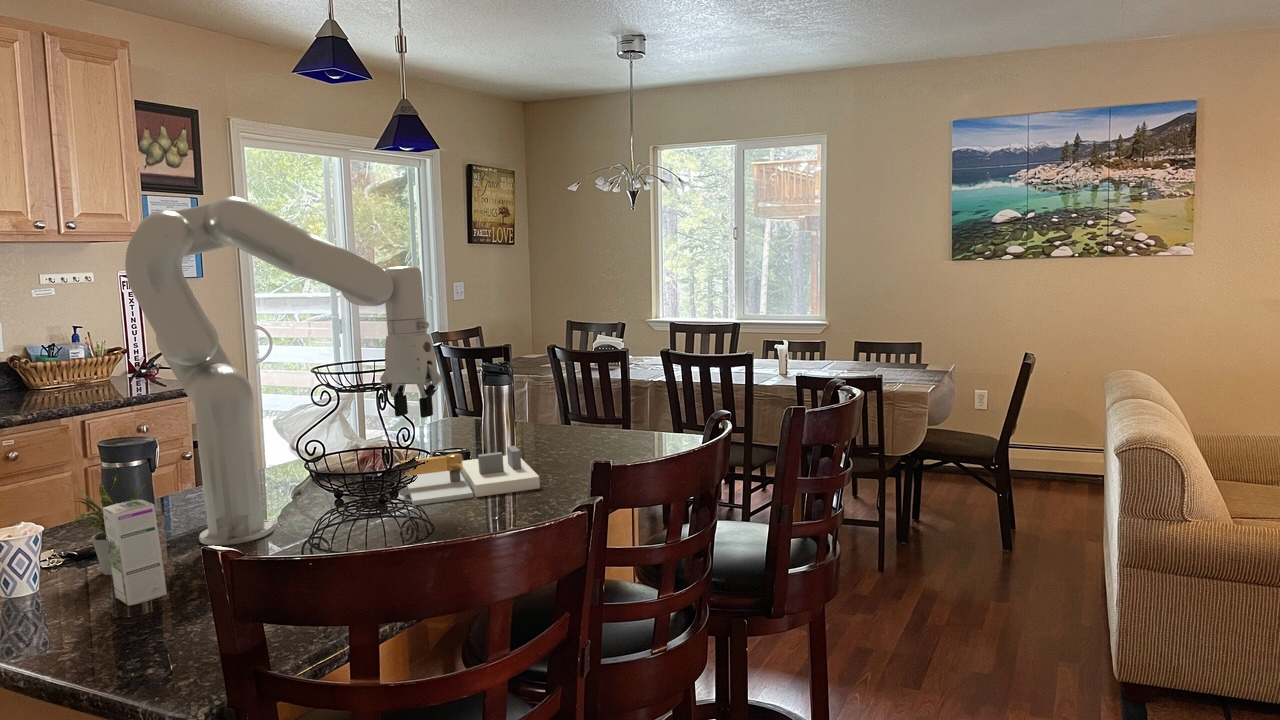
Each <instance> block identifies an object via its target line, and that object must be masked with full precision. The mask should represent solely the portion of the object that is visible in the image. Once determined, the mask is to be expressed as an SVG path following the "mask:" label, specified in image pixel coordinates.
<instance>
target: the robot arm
mask: <svg viewBox="0 0 1280 720" xmlns="http://www.w3.org/2000/svg"><path fill="white" fill-rule="evenodd" d="M230 246H233V247H235V248H237V249H239V250H241V251H243V252H245V253H247V254H249V255H251V256H253V257H255V258H258V259H260V260H261V261H263V262H265V263H267V264H270V265H272V266H273V267H275V268H277V269H279V270H282V271H283V272H285V273H288V274H291V275H294V276H295V277H296V276H297V277H300V278H304V279H305V278H306V279H310V280H313V281H316V282H319V283H322V284H324V285H326V286H329V287H330V288H333V289H335V290H337V291H339V292H340V293H341V294H342V296H343V297H344V299H346V301H348V302H349V303H351V304H353V305H356V306H362V307H379V306H381V305H384V306H385V314H386V326H387V327H386V328H387V335H386V338H385V347H384V365H385V366H384V367H385V368H384V369H385V371H384V372H383V373H382V375H381V376H380V378H379V380H380V381H381V383H382V384H383V385H384V386H385V388H386V389H387V391H388V392H389V393H390V394H389V395H390V397H391V398H393V406H394V407H395V408H394V416H395V417H396V418H397V417H398V418H399V417H401V416H406V415H408V413H409V410H408V400H407V399H408V398H407V395H406V394H405V390H406V387H407V386H406V385H416V386H417V389H418V391H419V392H418V393H419V394H420V398H419V399H418V403H419V412H420V414H419V415H420V417H421V418H422V419H425V418H428V417H433V415H434V407H433V406H434V405H433V397H434V396H435V392H436V391H437V390H438V388H439V387H440V385H441V384H442V383H443V382H444V378H443V377H442V376H441V374H440V373H439V372H438V365H437V357H436V352H435V348H434V347H435V346H434V344H433V340H432V337H431V334H430V333H427V329H429V327H430V323H429V322H428V321H426V313H425V310H426V309H425V300H424V299H425V298H424V288H423V278H422V272H421V269H420V267H417V266H415V265H405V266H404V265H403V266H402V265H401V266H391V267H387V268H382V267H380V266H378V265H377V264H375V263H373V262H372V261H369V260H367V259H365V258H364V257H361V256H360V255H357V254H356V253H354V252H352V251H350V250H347V249H345V248H343V247H341V246H338V245H336V244H334V243H332V242H329V241H328V240H326V239H324V238H322V237H319V236H318V235H315V234H313V233H311V232H308V231H307V230H305V229H303V228H301V227H299V226H297V225H295V224H294V223H291V222H289V221H287V220H286V219H283V218H281V217H279V216H277V215H276V214H275V213H274V214H273V212H270V211H268V210H267V209H264V208H263V207H261V206H258V205H257V204H255V203H253V202H251V201H249V200H247V199H244V198H242V197H238V196H226V197H224V198H221V199H218V200H216V201H214V202H210V203H206V204H203V205H199V206H194V207H189V208H185V209H178V210H166V209H165V210H157V211H154V212H151V213H150V214H149V215H147V216H146V217H144V218H143V220H142V221H140V222H139V224H138V226H137V229H136V230H135V231H134V233H133V235H132V237H131V239H130V241H129V243H128V245H127V248H126V253H125V261H124V262H125V263H124V266H125V276H126V280H127V283H128V285H129V288H130V290H131V292H132V294H133V296H134V298H135V300H136V302H137V304H138V306H139V307H140V309H141V311H142V312H143V314H144V316H145V318H146V320H147V321H148V323H149V324H150V327H151V328H152V330H153V331H154V333H155V341H156V346H157V347H158V350H159V352H160V353H161V355H162V357H163V358H164V360H165V362H166V364H167V365H168V367H169V368H170V369H171V372H172V373H173V375H174V377H175V379H177V381H178V383H179V384H180V386H181V388H182V389H183V391H184V392H185V394H186V395H187V397H188V399H189V400H190V402H191V403H192V404H193V405H194V411H195V413H194V414H195V425H196V437H197V446H198V447H197V448H198V456H199V461H200V462H199V464H200V469H201V470H200V471H201V479H202V486H203V487H202V488H203V490H202V491H203V499H204V506H205V514H206V524H207V528H206V529H205V530H203V531H201V532H200V533H199V536H198V539H199V543H201V544H202V545H207V546H212V545H219V546H230V545H231V546H233V545H237V544H244V543H248V542H251V541H256V540H258V539H261V538H264V537H266V536H268V535H270V534H272V533H273V531H274V530H275V524H274V522H273V521H271V520H269V519H265V517H264V516H265V515H264V507H263V496H262V489H261V488H262V486H261V478H260V470H259V459H258V450H257V442H256V431H255V414H254V413H255V408H254V407H255V406H254V394H253V393H254V392H253V388H252V386H251V383H250V381H249V379H248V378H247V376H246V375H245V374H244V373H243V372H242V371H240V370H239V369H237V368H235V367H234V365H233V364H232V362H231V361H230V359H229V358H228V356H227V354H226V352H225V351H224V349H223V347H222V345H221V344H220V342H219V341H220V340H219V334H218V331H217V329H216V327H215V325H214V324H213V322H211V320H210V319H209V318H208V316H207V314H206V313H205V311H204V310H203V308H202V306H201V305H200V303H199V301H198V299H197V298H196V296H195V294H194V293H193V290H192V288H191V286H190V285H189V283H188V282H187V279H186V277H185V274H184V271H183V258H185V257H188V256H194V255H199V254H202V253H207V252H211V251H215V250H219V249H223V248H226V247H230ZM396 409H397V410H396ZM398 411H399V412H400V413H401V414H402V415H401V414H400V413H399V412H398Z"/></svg>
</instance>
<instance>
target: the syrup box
mask: <svg viewBox="0 0 1280 720" xmlns="http://www.w3.org/2000/svg"><path fill="white" fill-rule="evenodd" d="M149 502H150V501H147V500H144V499H141V498H138V499H137V498H136V499H135V500H131V501H129V500H125V502H121V503H117V502H116V503H115V504H114V505H111V506H107V507H104V506H103V507H102V509H103V515H104V516H103V519H104V523H105V530H106V537H107V543H108V550H109V558H110V564H111V572H112V575H111V577H112V584H113V591H114V597H115V599H116V600H119V601H120V602H121V603H123V604H124V605H126V606H135V605H137V604H141V603H146V602H148V601H151V600H155V599H158V598H160V597H161V598H162V597H164V596H167V594H168V593H167V585H166V577H165V570H164V569H165V568H164V562H163V556H162V548H161V541H160V534H159V529H158V522H157V514H156V513H157V512H156V508H155V507H156V506H155V504H154V503H152V502H150V503H149ZM104 523H103V524H104Z"/></svg>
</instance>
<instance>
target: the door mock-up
mask: <svg viewBox="0 0 1280 720" xmlns="http://www.w3.org/2000/svg"><path fill="white" fill-rule="evenodd" d="M506 453H507V454H506V455H503V453H502V451H498V452H491V453H482V454H477V458H474V459H466V460H462V462H463V469H461V470H458V471H443V472H435V473H427V474H419V475H417V476H418V478H417V479H416V480H415V481H414V482H412V483H410V484H408V485H406V487H407V488H406V489H407V492H408V494H409V497H410V500H411V503H412V506H420V505H422V506H423V505H428V504H435V503H442V502H449V501H457V500H464V499H472V498H473V499H474V496H475V497H476V498H478V497H485V496H493V495H494V496H495V495H500V494H506V493H507V494H509V493H514V492H515V493H516V492H523V491H529V490H530V491H531V490H537V489H538V490H539V489H541V482H540V481H541V480H540V476H539V474H537V472H536V471H534V469H532V468H531V466H530V465H529V464H528V463H527V462H525V460H524V459H523V458H522V456H521V450H520V449H519V448H518V447H517V446H516V445H509V446H506Z"/></svg>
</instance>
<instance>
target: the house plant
mask: <svg viewBox="0 0 1280 720" xmlns="http://www.w3.org/2000/svg"><path fill="white" fill-rule="evenodd" d="M116 477H118V473H117V474H116V476H115V478H114V482H113V484H112V488H111V491H112V489H113V486H114V484H115V481H116V482H117V478H116ZM146 483H148V481H145V483H144V484H143V485H144V486H143V487H142V488H141V487H140V488H141V489H140V488H139V489H138V490H136V492H134V493H133V494H132V495H131V496H130V498H129V500H128V501H131V500H136V499H137V498H136V497H137V496H138V494H139V493H140V491H142V489H144V488H145V487H148V486H149V485H146ZM102 487H103V494H102ZM63 489H64V490H69V488H63ZM70 490H73V491H77V492H76V493H75V492H74V494H79V495H83V496H85V498H87V499H85V498H81V497H77V499H78V500H75V501H73V503H77V502H79V503H81V504H83V505H85V506H86V507H88V508H89V509H90V510H91V511H87V512H84V513H80V514H79V513H74V512H73V513H72V512H71V513H66V514H68V515H70V514H71V515H76V516H79V517H78V518H76V519H74V520H73V521H72V522H71V523H70V525H72V524H74V523H76V522H79V523H80V522H81V521H82V522H84V521H85V522H88V523H87V524H85V525H84V527H83V530H82V532H84V531H85V530H86V529H88V528H90V527H92V526H93V532H95V530H97V529H98V530H101V532H98V533H95V534H93V536H92V537H91V542H92V544H93V547H94V550H95V553H96V556H97V561H98V563H99V565H100V568H101V571H102V573H103V575H105V576H112V572H111V564H110V558H109V550H108V543H107V539H106V530H105V523H104V515H103V508H101V507H100V506H99V505H97V503H96V502H95V501H94V500H93V499H92V498H91V497H89V495H87V494H86V493H84V492H83V491H81V490H78V489H75V488H70ZM99 495H100V498H101V500H100V503H101V504H102V505H103V501H104V506H103V507H107V506H111V505H114V502H113V501H112V500H111V495H110V497H109V495H108V493H107V492H106V490H105V489H104V486H103V484H102V482H100V483H99ZM66 499H69V497H67V498H64V500H66ZM79 499H80V500H79ZM70 503H72V501H71V502H70ZM95 508H96V509H95ZM92 515H93V516H97V517H98V518H99V520H98V519H96V518H94V517H90V516H92ZM90 519H91V520H90ZM93 520H94V521H93ZM95 521H96V522H95Z"/></svg>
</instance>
